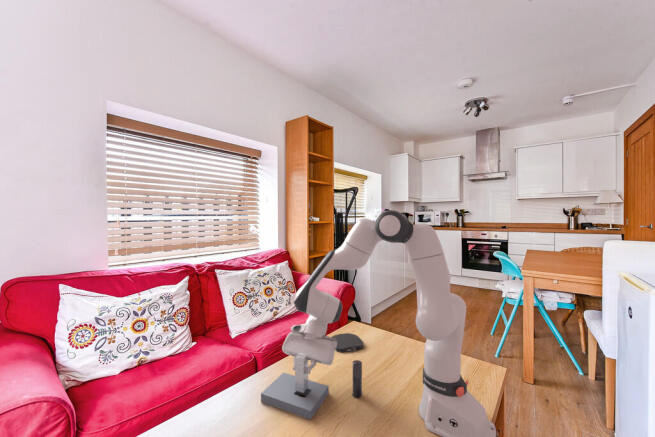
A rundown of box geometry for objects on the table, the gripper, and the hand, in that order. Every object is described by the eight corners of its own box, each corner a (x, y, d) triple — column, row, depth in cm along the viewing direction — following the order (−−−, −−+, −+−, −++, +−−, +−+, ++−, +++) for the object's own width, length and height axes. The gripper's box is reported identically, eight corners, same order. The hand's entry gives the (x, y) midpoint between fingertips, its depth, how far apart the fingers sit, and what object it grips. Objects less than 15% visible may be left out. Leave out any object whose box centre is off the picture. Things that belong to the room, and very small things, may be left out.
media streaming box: (353, 336, 148) (353, 331, 148) (365, 349, 134) (365, 343, 134) (328, 340, 144) (328, 335, 143) (337, 354, 130) (337, 348, 130)
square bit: (308, 387, 99) (308, 354, 99) (303, 393, 96) (303, 359, 95) (300, 384, 100) (300, 352, 100) (295, 390, 97) (295, 357, 97)
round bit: (363, 394, 101) (363, 362, 100) (357, 399, 98) (357, 366, 98) (356, 390, 103) (356, 359, 103) (350, 394, 101) (350, 362, 100)
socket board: (328, 393, 101) (328, 385, 101) (310, 420, 89) (310, 410, 89) (283, 379, 110) (283, 372, 110) (260, 401, 97) (260, 393, 97)
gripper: (340, 342, 104) (330, 382, 95) (294, 331, 112) (280, 367, 104) (336, 335, 99) (324, 376, 91) (288, 325, 108) (273, 362, 99)
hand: (300, 371), depth 97 cm, fingers closed on square bit, 3 cm apart
